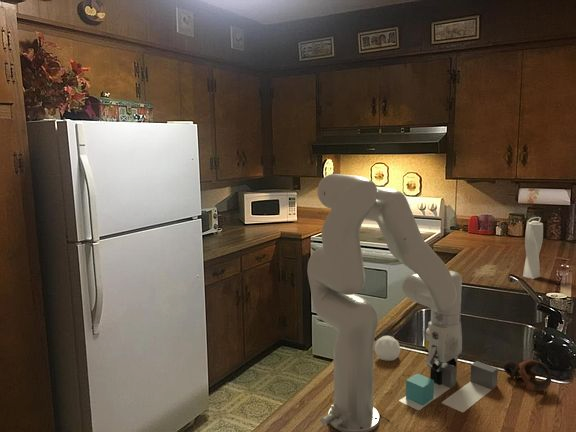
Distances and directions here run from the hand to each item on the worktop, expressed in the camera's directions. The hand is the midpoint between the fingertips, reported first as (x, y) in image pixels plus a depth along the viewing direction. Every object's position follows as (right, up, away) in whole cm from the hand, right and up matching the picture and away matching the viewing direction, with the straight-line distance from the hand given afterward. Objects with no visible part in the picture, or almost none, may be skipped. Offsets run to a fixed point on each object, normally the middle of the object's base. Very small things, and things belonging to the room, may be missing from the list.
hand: (443, 377), depth 132 cm
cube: (-9, -3, -7) cm, 12 cm away
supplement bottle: (+4, +1, +21) cm, 21 cm away
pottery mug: (+23, -2, 0) cm, 23 cm away
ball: (-12, 0, +16) cm, 20 cm away
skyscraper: (+72, +16, +93) cm, 119 cm away
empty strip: (+5, -3, -6) cm, 8 cm away
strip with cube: (-6, -3, -4) cm, 8 cm away
